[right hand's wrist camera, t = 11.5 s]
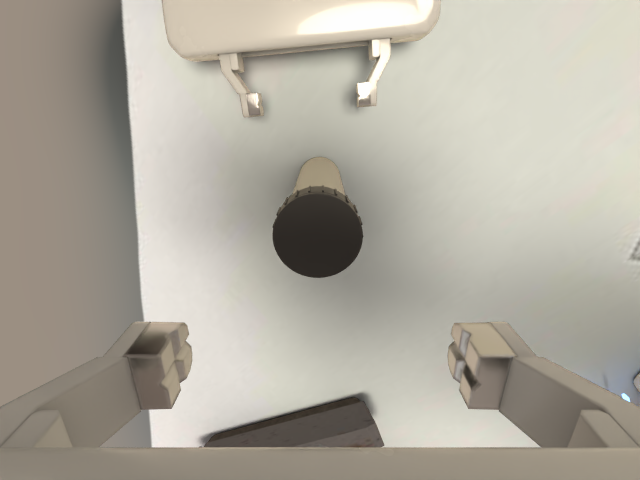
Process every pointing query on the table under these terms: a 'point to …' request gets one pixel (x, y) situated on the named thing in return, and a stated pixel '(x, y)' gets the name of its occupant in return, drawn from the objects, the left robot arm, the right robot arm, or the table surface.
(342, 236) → the lid
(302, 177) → the metal thermos flask
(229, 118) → the table surface
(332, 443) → the toy
